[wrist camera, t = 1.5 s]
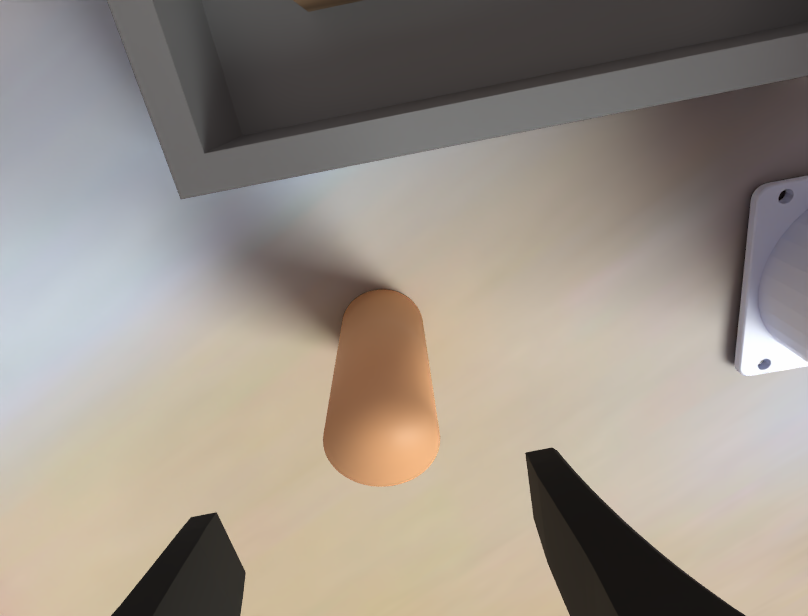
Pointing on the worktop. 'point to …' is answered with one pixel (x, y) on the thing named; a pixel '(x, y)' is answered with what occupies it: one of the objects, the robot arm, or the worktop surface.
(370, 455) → the peg
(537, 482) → the robot arm
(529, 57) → the tray
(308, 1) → the socket block
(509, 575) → the worktop surface
